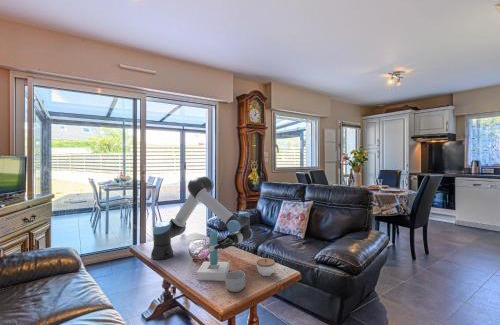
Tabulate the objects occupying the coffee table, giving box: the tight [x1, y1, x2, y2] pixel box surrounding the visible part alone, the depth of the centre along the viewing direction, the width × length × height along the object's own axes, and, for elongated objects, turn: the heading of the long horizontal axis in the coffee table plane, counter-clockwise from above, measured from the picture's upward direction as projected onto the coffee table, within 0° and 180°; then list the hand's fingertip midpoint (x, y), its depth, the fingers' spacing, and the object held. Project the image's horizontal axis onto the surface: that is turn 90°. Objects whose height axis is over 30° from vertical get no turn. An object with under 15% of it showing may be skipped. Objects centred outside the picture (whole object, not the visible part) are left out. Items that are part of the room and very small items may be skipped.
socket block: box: [196, 260, 230, 282], centre depth 162 cm, size 16×16×4 cm
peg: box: [209, 231, 219, 265], centre depth 162 cm, size 4×4×18 cm
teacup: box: [224, 269, 246, 293], centre depth 145 cm, size 14×11×8 cm
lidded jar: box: [256, 257, 276, 277], centre depth 161 cm, size 11×11×9 cm
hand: (206, 248), depth 158 cm, fingers closed on peg, 4 cm apart
